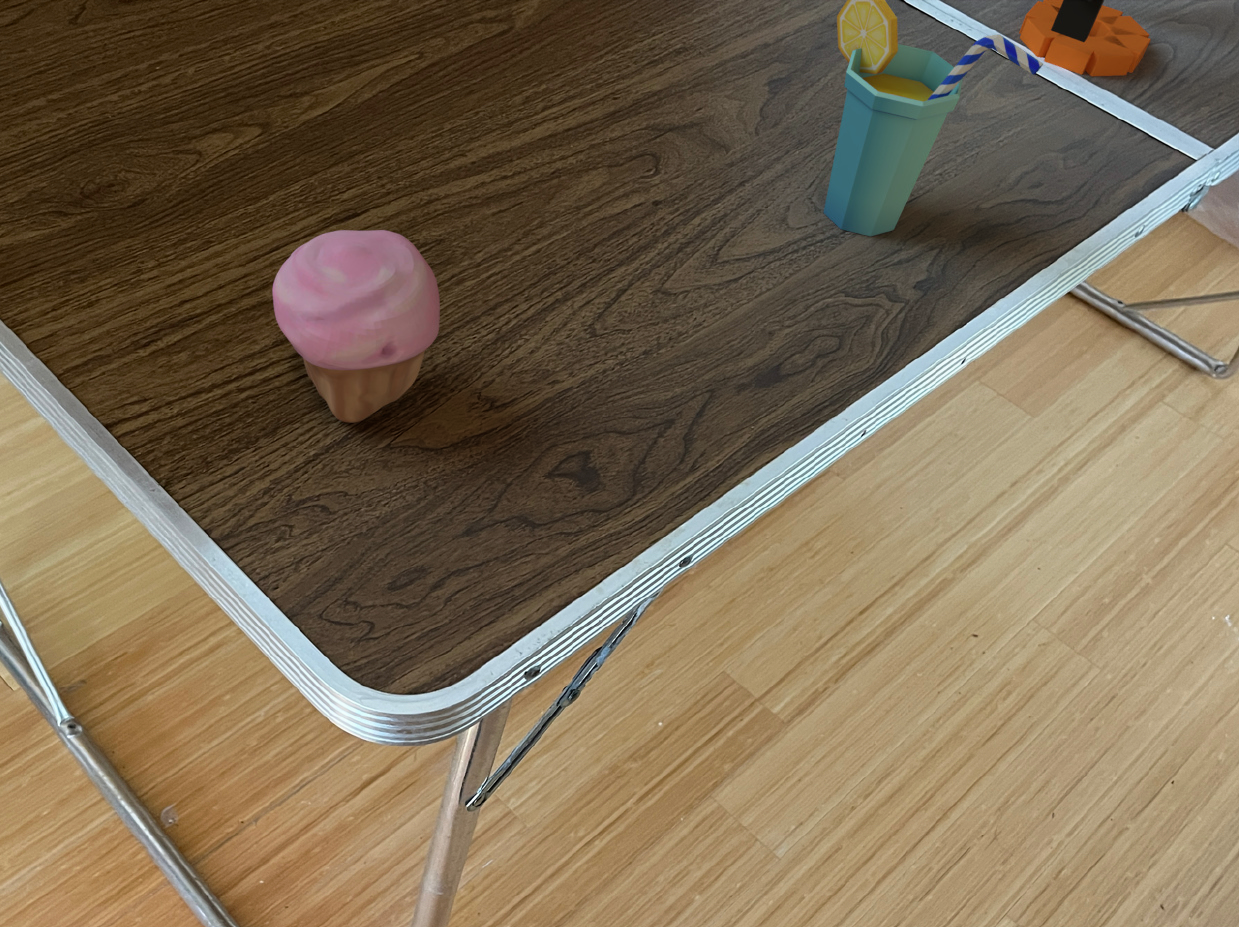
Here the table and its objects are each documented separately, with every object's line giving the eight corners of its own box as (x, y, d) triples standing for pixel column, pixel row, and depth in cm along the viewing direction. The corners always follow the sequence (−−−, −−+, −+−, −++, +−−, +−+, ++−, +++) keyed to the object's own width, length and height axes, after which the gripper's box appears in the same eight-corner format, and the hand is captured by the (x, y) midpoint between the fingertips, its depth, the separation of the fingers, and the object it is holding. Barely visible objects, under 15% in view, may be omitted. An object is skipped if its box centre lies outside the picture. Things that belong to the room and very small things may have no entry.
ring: (1144, 60, 106) (1161, 24, 103) (1112, 106, 100) (1130, 69, 98) (1035, 23, 109) (1050, -13, 106) (999, 65, 103) (1013, 28, 101)
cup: (986, 239, 86) (1073, 32, 75) (934, 288, 82) (1017, 77, 71) (815, 156, 91) (871, -49, 80) (757, 199, 87) (809, -12, 76)
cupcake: (257, 369, 71) (240, 223, 64) (392, 324, 75) (390, 181, 68) (327, 468, 67) (318, 323, 59) (467, 415, 70) (474, 272, 63)
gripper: (1214, -347, 93) (1093, -62, 109) (1122, -272, 78) (998, 45, 94) (1316, -321, 91) (1178, -34, 107) (1242, -238, 76) (1094, 80, 92)
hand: (1093, 4), depth 101 cm, fingers open, 13 cm apart
